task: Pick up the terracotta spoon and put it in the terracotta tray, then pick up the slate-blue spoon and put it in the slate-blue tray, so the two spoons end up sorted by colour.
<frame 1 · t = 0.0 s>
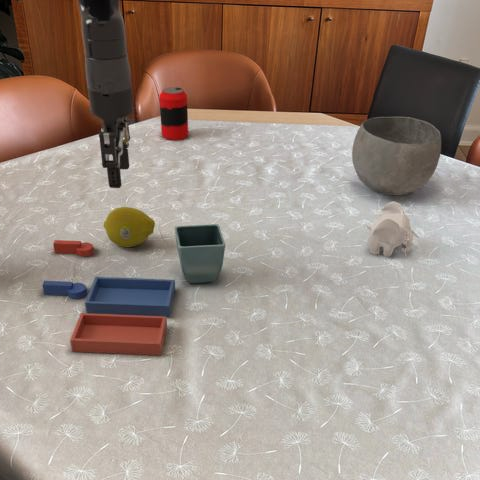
hand: (119, 177, 122), 17 cm above the table, tool pointing down, fingers open, 8 cm apart
lemon: (130, 245, 138), on the table
soda can: (175, 136, 186), on the table
blue tray: (132, 301, 122), on the table
blue spoon: (66, 293, 124), on the table
flower pot: (200, 277, 129), on the table
red spoon: (74, 252, 136), on the table
elephant figurine: (388, 251, 139), on the table
bowl: (388, 190, 161), on the table
red tray: (120, 339, 113), on the table
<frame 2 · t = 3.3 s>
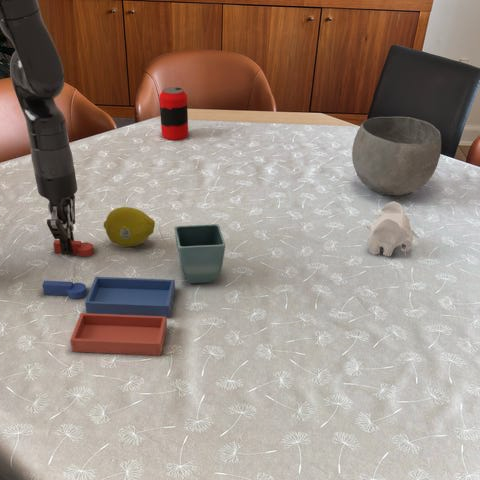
hand: (68, 250, 135), 0 cm above the table, tool pointing down, fingers closed on red spoon, 1 cm apart
red spoon: (74, 252, 136), on the table, touching gripper
everything else where it was.
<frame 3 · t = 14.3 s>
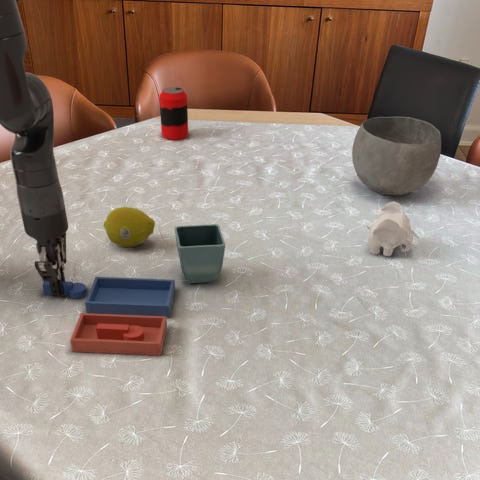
hand: (59, 292, 124), 0 cm above the table, tool pointing down, fingers closed on blue spoon, 1 cm apart
blue spoon: (66, 293, 124), on the table, touching gripper
red spoon: (121, 337, 113), resting on red tray
everything else where it was.
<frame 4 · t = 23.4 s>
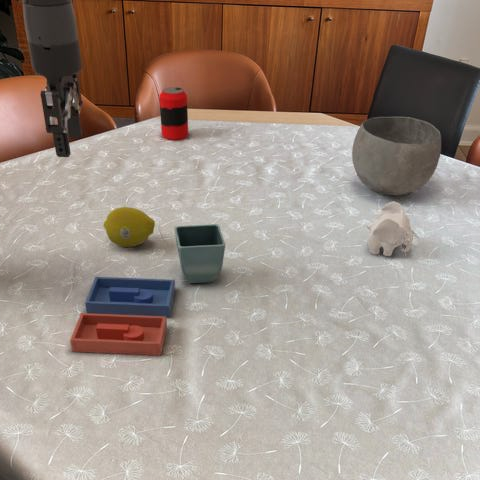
hand: (69, 146, 109), 26 cm above the table, tool pointing down, fingers open, 8 cm apart
blue spoon: (132, 300, 122), resting on blue tray
everything else where it was.
at the end: red spoon inside the target area in the red tray (0.1 cm from its centre), point 0.4 cm above the red tray's base; blue spoon inside the target area in the blue tray (0.0 cm from its centre), point 0.4 cm above the blue tray's base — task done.
